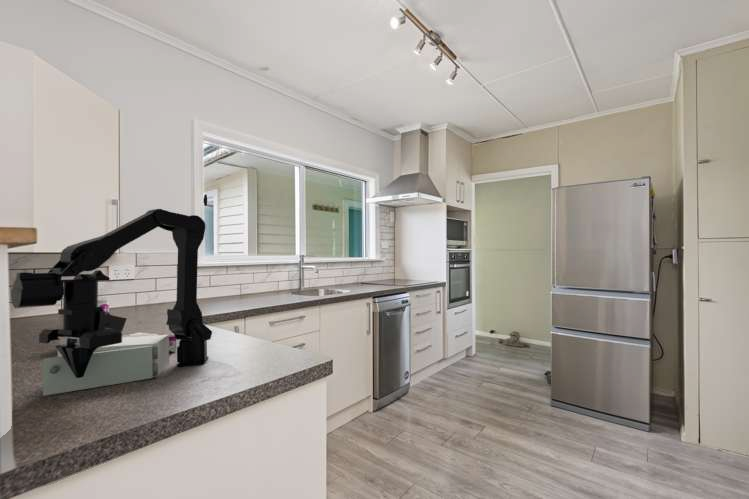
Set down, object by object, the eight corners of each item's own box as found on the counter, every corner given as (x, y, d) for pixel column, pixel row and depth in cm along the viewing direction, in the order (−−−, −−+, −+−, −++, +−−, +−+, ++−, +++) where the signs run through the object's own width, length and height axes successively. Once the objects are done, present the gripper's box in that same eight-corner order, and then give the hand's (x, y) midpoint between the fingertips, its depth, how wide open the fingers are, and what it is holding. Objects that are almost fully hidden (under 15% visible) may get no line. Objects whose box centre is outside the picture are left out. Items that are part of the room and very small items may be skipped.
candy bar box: (176, 351, 110) (140, 346, 116) (176, 335, 110) (140, 331, 116) (140, 362, 100) (103, 356, 106) (140, 344, 100) (103, 339, 106)
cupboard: (169, 364, 97) (168, 334, 97) (156, 376, 87) (156, 343, 87) (81, 371, 92) (81, 340, 92) (58, 385, 82) (57, 350, 82)
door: (157, 375, 87) (157, 344, 87) (158, 378, 85) (157, 346, 85) (44, 394, 76) (44, 358, 76) (41, 397, 74) (41, 361, 75)
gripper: (147, 300, 81) (146, 371, 80) (95, 298, 88) (94, 363, 87) (91, 305, 71) (90, 387, 70) (38, 303, 78) (36, 377, 77)
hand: (79, 377), depth 76 cm, fingers closed
